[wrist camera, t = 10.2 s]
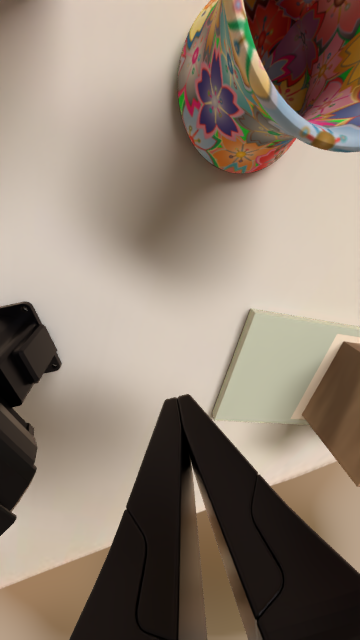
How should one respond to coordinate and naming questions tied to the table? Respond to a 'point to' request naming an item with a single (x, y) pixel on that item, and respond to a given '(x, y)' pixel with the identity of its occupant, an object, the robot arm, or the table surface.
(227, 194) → the table surface
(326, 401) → the t block
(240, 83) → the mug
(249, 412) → the board
